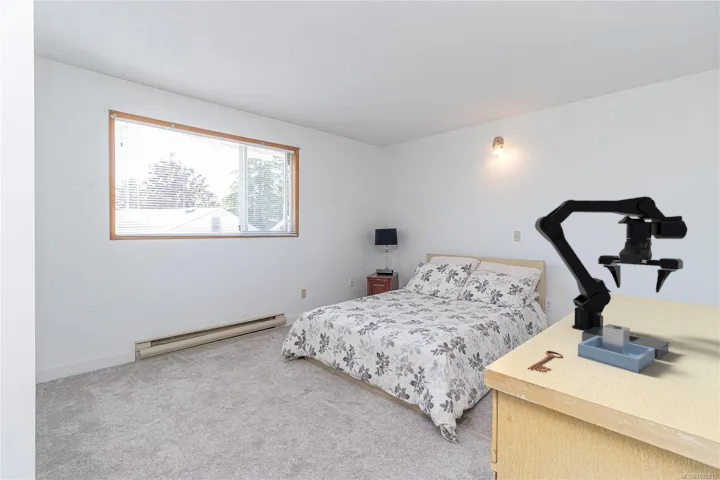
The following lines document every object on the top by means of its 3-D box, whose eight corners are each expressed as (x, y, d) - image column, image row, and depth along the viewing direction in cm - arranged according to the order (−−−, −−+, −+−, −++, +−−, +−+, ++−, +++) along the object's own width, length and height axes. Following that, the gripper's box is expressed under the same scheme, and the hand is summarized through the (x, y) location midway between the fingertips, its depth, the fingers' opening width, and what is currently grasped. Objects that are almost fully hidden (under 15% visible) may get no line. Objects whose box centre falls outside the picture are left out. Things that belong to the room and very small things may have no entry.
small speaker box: (602, 355, 78) (603, 326, 78) (608, 351, 80) (609, 323, 80) (622, 360, 74) (623, 330, 74) (628, 356, 77) (629, 327, 76)
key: (547, 379, 68) (573, 361, 77) (548, 374, 68) (574, 357, 77) (520, 367, 72) (548, 352, 82) (520, 363, 72) (548, 348, 82)
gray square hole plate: (581, 340, 90) (582, 332, 90) (595, 335, 95) (595, 326, 95) (657, 359, 76) (658, 349, 76) (668, 351, 81) (668, 342, 81)
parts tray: (577, 356, 79) (578, 343, 79) (597, 346, 85) (597, 335, 85) (638, 373, 69) (638, 359, 69) (654, 361, 76) (654, 348, 76)
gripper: (591, 238, 100) (590, 288, 100) (673, 239, 84) (672, 298, 85) (605, 238, 106) (604, 285, 106) (684, 239, 91) (682, 294, 91)
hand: (637, 290), depth 97 cm, fingers open, 9 cm apart
